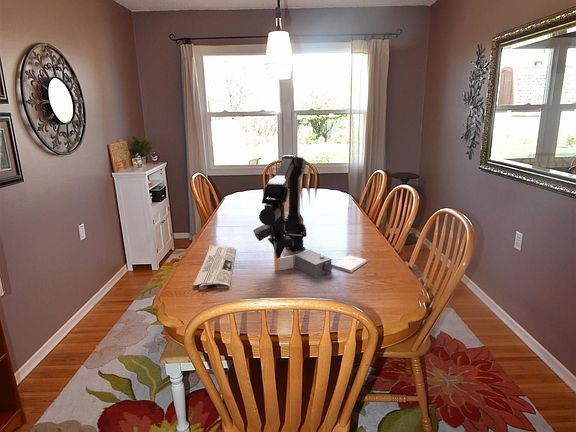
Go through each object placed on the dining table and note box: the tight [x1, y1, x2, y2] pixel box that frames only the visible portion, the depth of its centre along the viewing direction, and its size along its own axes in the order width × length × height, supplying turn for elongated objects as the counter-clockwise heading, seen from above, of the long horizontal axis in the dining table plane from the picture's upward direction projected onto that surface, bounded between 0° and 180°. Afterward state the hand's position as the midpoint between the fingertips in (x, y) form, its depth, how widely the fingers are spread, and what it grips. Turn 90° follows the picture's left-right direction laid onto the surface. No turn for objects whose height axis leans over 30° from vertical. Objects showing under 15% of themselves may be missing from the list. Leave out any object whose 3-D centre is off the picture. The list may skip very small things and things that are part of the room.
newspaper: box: [192, 244, 237, 290], centre depth 145 cm, size 35×12×4 cm, turn 4°
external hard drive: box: [332, 254, 368, 273], centre depth 146 cm, size 2×8×12 cm
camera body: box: [294, 249, 333, 278], centre depth 142 cm, size 14×8×6 cm, turn 38°
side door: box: [273, 250, 296, 272], centre depth 142 cm, size 8×1×8 cm, turn 112°
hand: (278, 258), depth 138 cm, fingers closed
